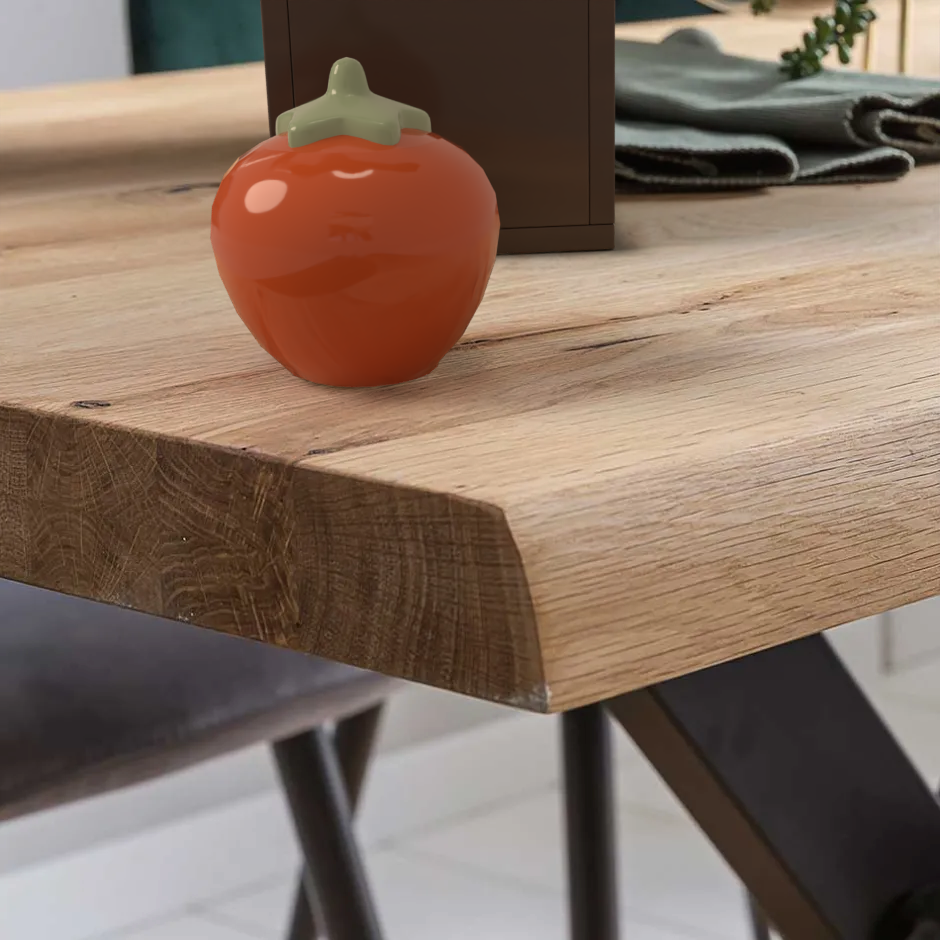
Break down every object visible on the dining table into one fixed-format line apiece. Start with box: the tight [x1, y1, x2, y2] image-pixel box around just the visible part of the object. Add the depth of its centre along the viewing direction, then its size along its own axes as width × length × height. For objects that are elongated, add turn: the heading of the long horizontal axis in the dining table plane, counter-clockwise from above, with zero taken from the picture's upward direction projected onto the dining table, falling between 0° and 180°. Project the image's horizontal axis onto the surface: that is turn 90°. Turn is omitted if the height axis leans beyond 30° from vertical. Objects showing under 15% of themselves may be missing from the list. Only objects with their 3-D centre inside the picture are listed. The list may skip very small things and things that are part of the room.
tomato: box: [209, 57, 500, 388], centre depth 40 cm, size 7×7×8 cm
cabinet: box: [259, 0, 616, 255], centre depth 60 cm, size 14×12×10 cm
